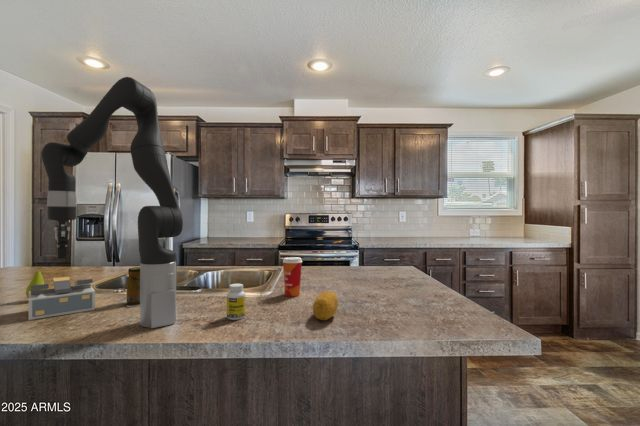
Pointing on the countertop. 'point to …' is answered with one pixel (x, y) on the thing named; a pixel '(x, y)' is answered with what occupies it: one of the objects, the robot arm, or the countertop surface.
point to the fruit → (35, 282)
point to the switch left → (39, 287)
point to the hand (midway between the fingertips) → (62, 258)
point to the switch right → (83, 282)
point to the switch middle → (62, 285)
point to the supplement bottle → (236, 302)
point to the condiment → (133, 287)
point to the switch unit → (61, 302)
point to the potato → (325, 305)
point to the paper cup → (292, 275)
